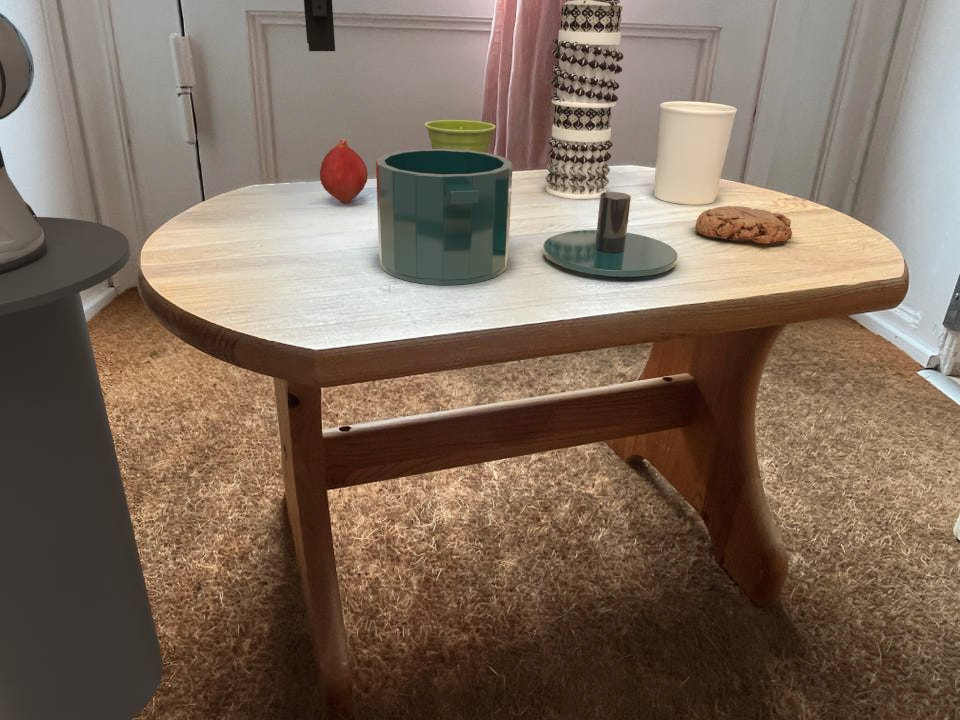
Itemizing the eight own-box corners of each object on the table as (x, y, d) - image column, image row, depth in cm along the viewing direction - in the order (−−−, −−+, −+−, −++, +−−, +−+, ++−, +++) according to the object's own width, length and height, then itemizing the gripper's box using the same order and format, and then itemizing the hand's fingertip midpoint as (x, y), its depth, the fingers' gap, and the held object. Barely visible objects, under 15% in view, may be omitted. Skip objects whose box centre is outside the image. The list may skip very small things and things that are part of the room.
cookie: (680, 225, 88) (684, 200, 87) (759, 222, 91) (764, 198, 89) (721, 250, 80) (726, 223, 78) (808, 247, 82) (814, 220, 81)
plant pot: (439, 179, 107) (439, 117, 103) (501, 185, 104) (503, 122, 101) (414, 193, 99) (414, 126, 95) (481, 200, 96) (483, 132, 93)
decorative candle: (529, 188, 103) (540, -11, 92) (576, 181, 108) (592, -9, 97) (574, 202, 97) (592, -10, 86) (622, 194, 102) (645, -8, 91)
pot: (392, 299, 64) (389, 184, 60) (371, 239, 80) (367, 144, 75) (530, 291, 67) (537, 181, 62) (483, 234, 83) (486, 143, 78)
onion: (313, 206, 91) (308, 140, 88) (335, 196, 96) (331, 133, 93) (355, 211, 90) (352, 144, 86) (376, 201, 95) (373, 137, 91)
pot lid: (568, 286, 68) (574, 215, 65) (526, 243, 80) (530, 181, 77) (700, 278, 71) (712, 210, 68) (641, 238, 83) (649, 178, 80)
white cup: (721, 193, 104) (736, 104, 99) (720, 209, 96) (737, 113, 91) (651, 186, 107) (662, 99, 101) (644, 202, 98) (657, 108, 93)
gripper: (349, -209, 64) (362, 55, 73) (335, -158, 85) (347, 40, 95) (259, -216, 62) (284, 55, 72) (268, -162, 84) (287, 40, 93)
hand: (320, 47), depth 83 cm, fingers open, 13 cm apart
